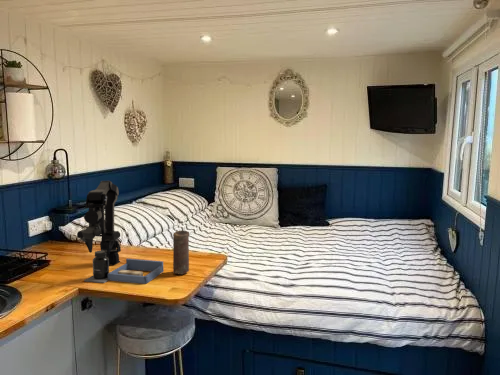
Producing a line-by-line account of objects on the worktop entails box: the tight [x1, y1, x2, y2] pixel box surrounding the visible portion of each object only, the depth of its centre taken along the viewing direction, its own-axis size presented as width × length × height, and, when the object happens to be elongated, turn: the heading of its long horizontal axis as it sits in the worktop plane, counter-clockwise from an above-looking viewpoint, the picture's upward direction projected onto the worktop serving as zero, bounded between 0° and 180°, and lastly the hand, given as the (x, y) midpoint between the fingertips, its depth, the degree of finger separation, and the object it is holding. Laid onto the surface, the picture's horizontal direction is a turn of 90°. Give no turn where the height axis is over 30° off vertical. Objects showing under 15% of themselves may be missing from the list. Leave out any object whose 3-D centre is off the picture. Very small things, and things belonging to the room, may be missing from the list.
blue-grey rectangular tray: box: [108, 258, 164, 285], centre depth 177 cm, size 19×16×5 cm
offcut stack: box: [118, 269, 144, 276], centre depth 172 cm, size 13×3×4 cm, turn 76°
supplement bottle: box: [92, 249, 110, 279], centre depth 173 cm, size 7×7×12 cm
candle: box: [172, 230, 190, 275], centre depth 179 cm, size 8×7×20 cm
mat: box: [83, 275, 110, 284], centre depth 174 cm, size 10×10×1 cm
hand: (99, 253), depth 172 cm, fingers open, 9 cm apart
